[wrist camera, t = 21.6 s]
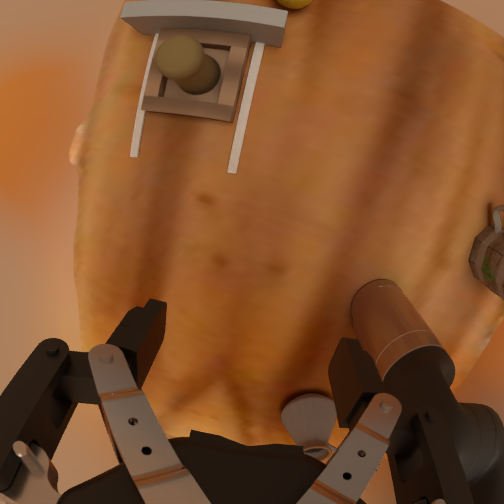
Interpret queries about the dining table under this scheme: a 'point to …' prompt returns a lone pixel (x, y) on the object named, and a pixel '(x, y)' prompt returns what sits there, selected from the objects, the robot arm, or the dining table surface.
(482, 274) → the mug
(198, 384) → the dining table surface
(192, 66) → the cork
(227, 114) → the socket block
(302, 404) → the coffee pot
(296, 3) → the lemon
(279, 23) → the backstop
